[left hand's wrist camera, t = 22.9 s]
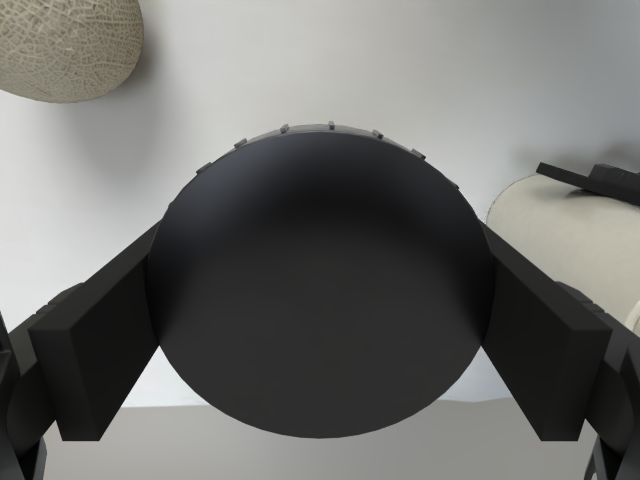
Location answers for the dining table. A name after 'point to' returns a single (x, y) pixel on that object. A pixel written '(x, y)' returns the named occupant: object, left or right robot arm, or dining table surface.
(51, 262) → the dining table surface
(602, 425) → the left robot arm
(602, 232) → the jar
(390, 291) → the lid
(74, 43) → the fruit
